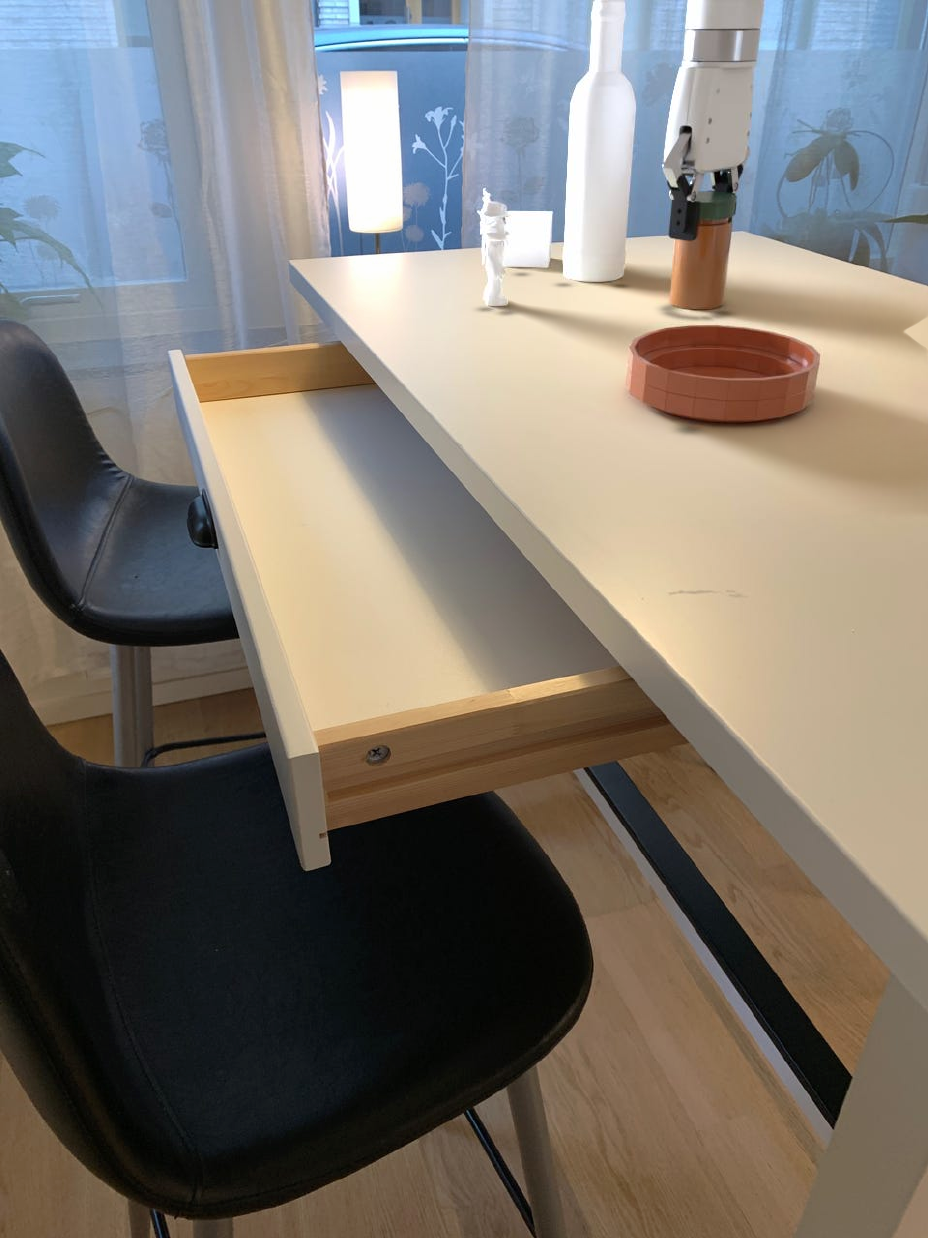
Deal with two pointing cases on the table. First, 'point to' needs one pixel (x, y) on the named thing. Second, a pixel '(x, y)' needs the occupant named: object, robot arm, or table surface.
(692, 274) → the jar
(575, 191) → the bottle
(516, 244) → the white cube
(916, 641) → the table surface
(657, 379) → the bowl
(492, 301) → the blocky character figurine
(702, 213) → the lid
